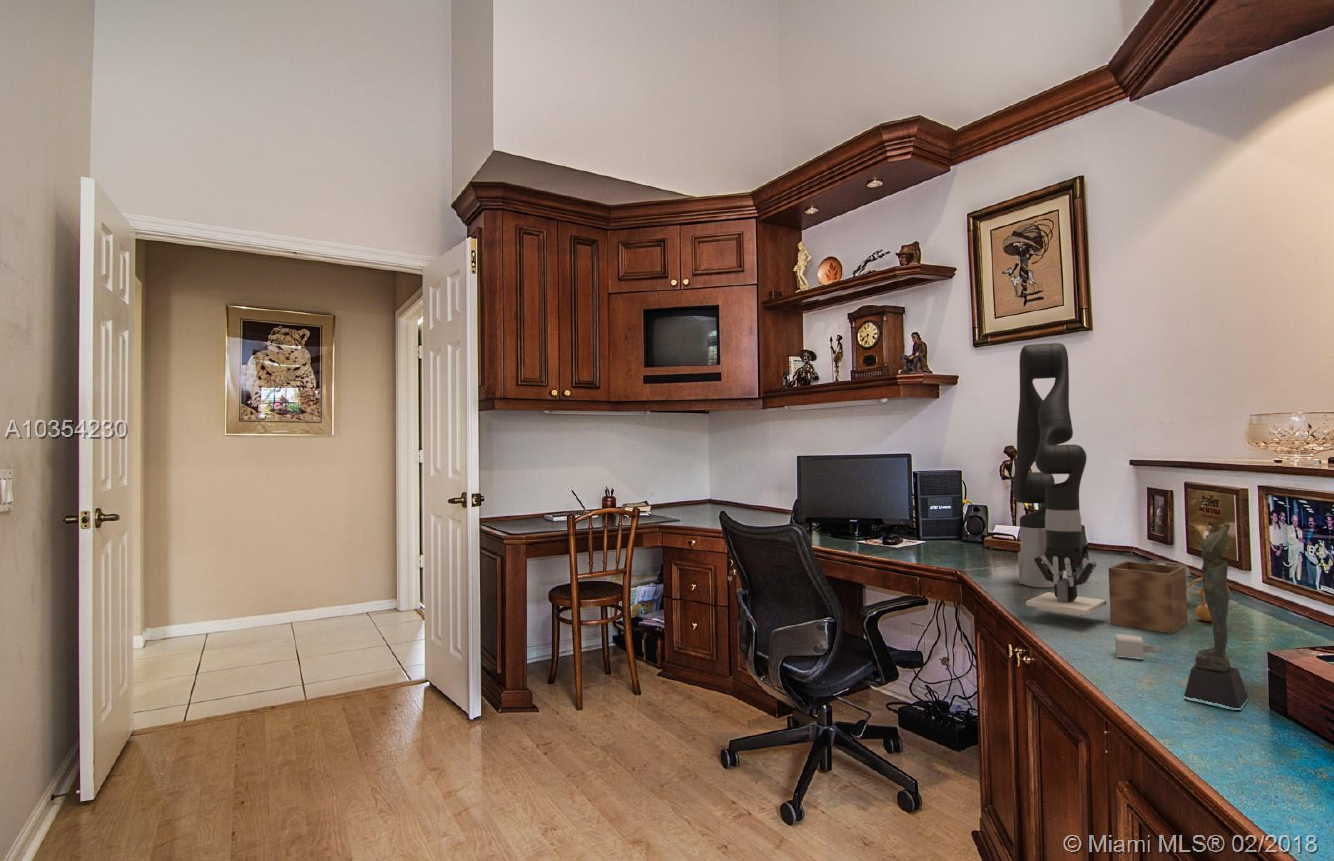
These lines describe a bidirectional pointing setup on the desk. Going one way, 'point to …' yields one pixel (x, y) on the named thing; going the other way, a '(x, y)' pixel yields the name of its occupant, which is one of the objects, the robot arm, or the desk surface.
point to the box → (1148, 596)
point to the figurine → (1202, 604)
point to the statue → (1216, 633)
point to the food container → (1173, 565)
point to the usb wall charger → (1132, 646)
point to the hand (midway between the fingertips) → (1066, 600)
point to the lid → (1065, 602)
